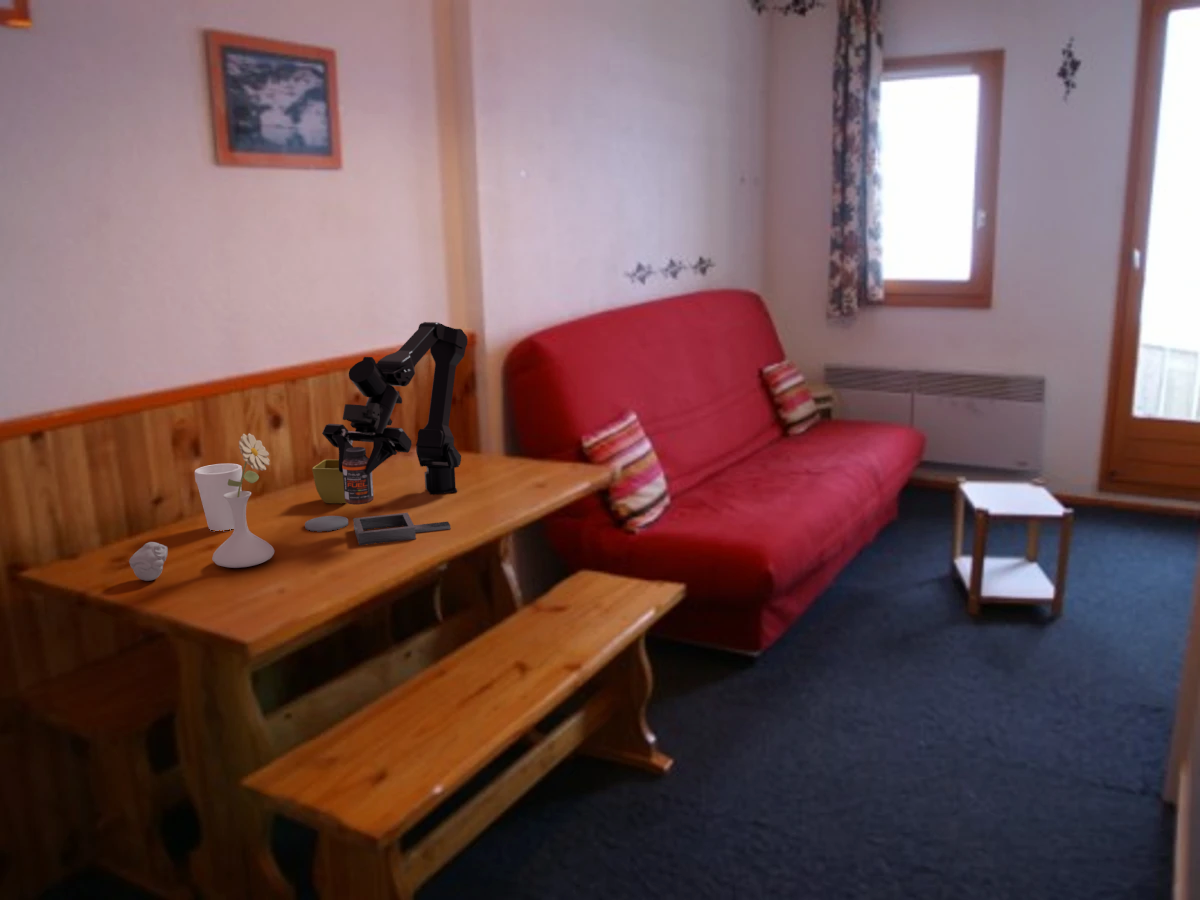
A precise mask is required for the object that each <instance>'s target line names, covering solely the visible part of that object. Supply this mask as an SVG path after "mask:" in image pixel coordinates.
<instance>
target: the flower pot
mask: <svg viewBox="0 0 1200 900" xmlns="http://www.w3.org/2000/svg"><path fill="white" fill-rule="evenodd" d="M311 471H312V475H313V480H314V484H315V485H314V486H315V489H316V492H317V494H318V495H319V497H320V499H321V500H322V501H323V503H325V504H342V503H345V504H348V503H347V502H346V501H345V496H344V482H343V472H340V471H339V459H323V460H322V461H320V462H319V463H318V464H316V465H314V466H313V467H312V469H311Z"/></svg>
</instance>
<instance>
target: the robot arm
mask: <svg viewBox="0 0 1200 900" xmlns="http://www.w3.org/2000/svg"><path fill="white" fill-rule="evenodd" d="M468 341H469V340H468V335H467V334H466V333H465V332H464V331H463V329H461V328H454V327H451V326H448V325H445V324H442V323H440V322H436V321H435V322H434V321H432V322H431V321H427V322H426V321H423V322H421V323H419V324H418V328H417V329H416V331H415V332H414V333H413V334H411V336H410V337H409V339H407V341H405V343H404V344H403V345H401V347H400V348H399V349H398V350H397V351H396V352H392V353H390V354H387V355H385V356H384V357H382V358H380V359H379V360H378V361H377V362H376V359H374V357H373V356H364V357H363V358H362V360H360V361H358V362H356V363H355V364H354V365H353V366H352V367H350V369H349V370H348V377H349V379H350V381H351V382H352V383H353V384H354V386H355V387H356V389H358V391H359V392H360V393H361V395H362V396H364V397H366V398H367V401H366V403H365V405H362V404H349V403H347V404H344V408H343V409H344V410H343V415H342V420H343V421H348V422H350V427H351V428H353V429H355V431H354V430H351V431H350V430H348V428H347V427H346V425H344V424H343V423H342V424H338V423H328V424H326V425H325V426H324V428H323V430H322V433H321V434H322V435H323V436H324V438H325V439H327V441H328V442H329V443H330V444H331V445H332V446H333V447H334V448H338V460H339V471H340V472H343V469H342V462H343V460H345V459H346V457H347V456H346V449H348V448H352V447H354V446H353V443H354V442H363V443H373V448H372V451H371V453H370V455H369V457H368V458H369V460H368V463H367V465H366V469H365V473H366V474H367V475H369V474H370V473H371V472H372V473H373V471H375V470H376V469H377V468H378V467H379V466H380V465H381V464H382V463H384V462H386V461H387V460H388V459H390V458H391V457H392V456H395V455H397V453H409V452H410V451H411V448H412V446H413V444H412V440H411V438H410V437H409V436H408V434H407V433H406V431H404V428H402V427H391V426H392V424H393V420H392V419H391V416H392V413H393V410H394V409H395V405H396V404H397V405H398V404H402V403H403V398H402V396H401V395H400V391H399V390H397V389H396V388H395V387H407V386H409V384H410V383H411V381H412V379H413V378H414V376H415V375H416V372H415V371H416V370H415V369H416V368H415V367H416V366H417V364H418V363H420V361H421V360H422V358H424V356H425V355H426V354H427V353H428V351H429V353H430V355H431V357H432V359H433V361H434V371H433V372H434V373H433V379H432V387H431V388H432V389H431V394H430V404H429V412H428V421H427V423H426V425H425V426H424V427H423V428H419V429H418V431H417V441H416V444H415V446H416V448H415V451H416V456H417V459H418V462H419V463H418V464H419V467H421V468H422V467H426V471H424V485H425V486H424V487H425V489H426V491H427V492H428V493H429V495H441V494H442V495H443V494H451V493H457V492H458V489H457V487H456V470H455V468H459V467H460V466H461V462H462V455H461V454H460V452H459V450H457V448H456V446H455V445H454V444H455V438H454V435H453V433H452V430H451V428H450V419H451V410H452V401H453V394H454V384H455V377H456V371H457V367H458V365H459V364H460V363H461V361H462V360H463V359H464V357H465V353H466V350H467V349H466V348H467V346H468ZM387 426H388V427H387ZM389 426H390V427H389Z"/></svg>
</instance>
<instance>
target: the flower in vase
mask: <svg viewBox="0 0 1200 900" xmlns="http://www.w3.org/2000/svg"><path fill="white" fill-rule="evenodd" d="M238 444H239V445H238V448H239V450H240V454H241V455H242V460H243V461H245V462H244V464H243V468H242V477H241V481H240V482H237V481H233V480H231V479H229V480H228V485H229V486H236V487H238V486H239V489H238V491H234V492H229V493H226V494H225V495H224V498H225V499H226V500H227V501H228V502H229V504H230V506H231V509H232V513H233V518H234V530H232V531H233V532H232V533H231V535H230V536H229V537H228V538H227V539H226V540H225V541H224V542H223V543H221V545H219V546H218V547H217V548H216V550H215V551H214V552H213V554H212V558H211V559H212V562H213V563H215V565H217V566H219V567H220V566H221V567H223V568H224V567H225V568H228V569H229V568H233V569H240V568H247V567H252V566H257V565H259V564H262V563H265V562H267V561H269V560H270V559H271V558H273V556H274V554H275V551H276V550H275V549H274V547H273V546H272V545H271V544H270V543H269V542H268V541H266V540H264V539H262V538H261V537H259V536H257V535H255V534H254V533H252V531H250V529H249V527H248V523H247V504H248V500H249V498H250V496H251V495H252V492H251V491H248V490H242V486H243V485H242V484H243V480H245V481H246V482H248V483H249V484H255V483H257V481H259V478H260V476H259V474H258V473H257V472H255V471H252V470H246V467H247V465H249V466H250V467H251V469H253V470H254V469H255V470H257V471H266V470H267V467H266V466H270V461H271V460H270V459H269V457H268V456H270V453H269V452H268V450H266V447H265V446H264V445H263V442H262V440H261V439H260V440H259V439H256V437H255V435H254V434H251V433H248V434H245V433H243V434H242V436H240V439H239V440H238ZM240 489H241V491H240Z"/></svg>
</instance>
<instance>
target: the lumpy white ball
mask: <svg viewBox="0 0 1200 900" xmlns="http://www.w3.org/2000/svg"><path fill="white" fill-rule="evenodd" d="M168 552H169V551H168V546H167V545H164V544H161V543H159V542H156V541H149V542H147V543H145V544H143V546H141V548H139V549H138V550H137V551H136V552H135V553H134V554H132V555H131V557H130V558H129V562H128V563H129V565H130V568H131V569H132V570H133V573H134V575H135V576H136V577H137V578H138V579H139V580H142V581H145V582H149V581H153V580H156V579H158V578H159V576H161V574H162V572H163V570H164V564H165V562H166V560H167V558H168Z"/></svg>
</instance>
